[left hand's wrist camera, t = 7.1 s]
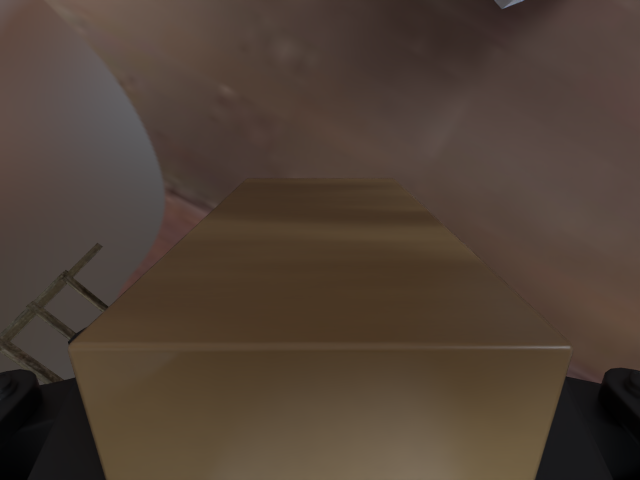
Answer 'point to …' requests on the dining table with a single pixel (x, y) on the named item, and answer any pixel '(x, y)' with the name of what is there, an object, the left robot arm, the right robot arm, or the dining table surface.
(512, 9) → the dining table surface
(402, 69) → the dining table surface
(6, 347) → the miniature windmill
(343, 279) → the box
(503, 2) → the electronic device
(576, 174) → the dining table surface
